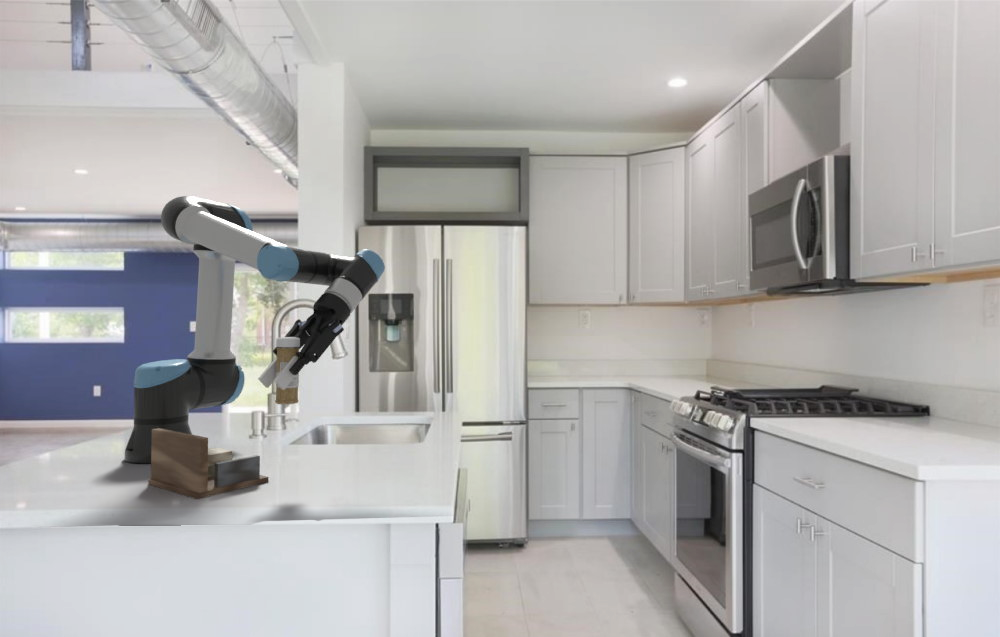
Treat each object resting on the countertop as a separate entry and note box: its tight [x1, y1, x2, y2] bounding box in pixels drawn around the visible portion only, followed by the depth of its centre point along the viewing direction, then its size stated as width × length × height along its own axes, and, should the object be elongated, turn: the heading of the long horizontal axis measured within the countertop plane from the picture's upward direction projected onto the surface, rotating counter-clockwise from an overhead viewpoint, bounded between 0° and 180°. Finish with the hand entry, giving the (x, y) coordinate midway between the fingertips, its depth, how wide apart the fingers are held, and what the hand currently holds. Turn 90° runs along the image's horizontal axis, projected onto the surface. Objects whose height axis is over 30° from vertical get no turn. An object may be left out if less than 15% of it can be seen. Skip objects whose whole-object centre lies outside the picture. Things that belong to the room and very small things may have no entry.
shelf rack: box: [147, 428, 269, 500], centre depth 121 cm, size 15×18×11 cm
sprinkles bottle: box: [274, 336, 300, 405], centre depth 120 cm, size 5×5×14 cm
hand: (271, 384), depth 117 cm, fingers closed on sprinkles bottle, 4 cm apart
